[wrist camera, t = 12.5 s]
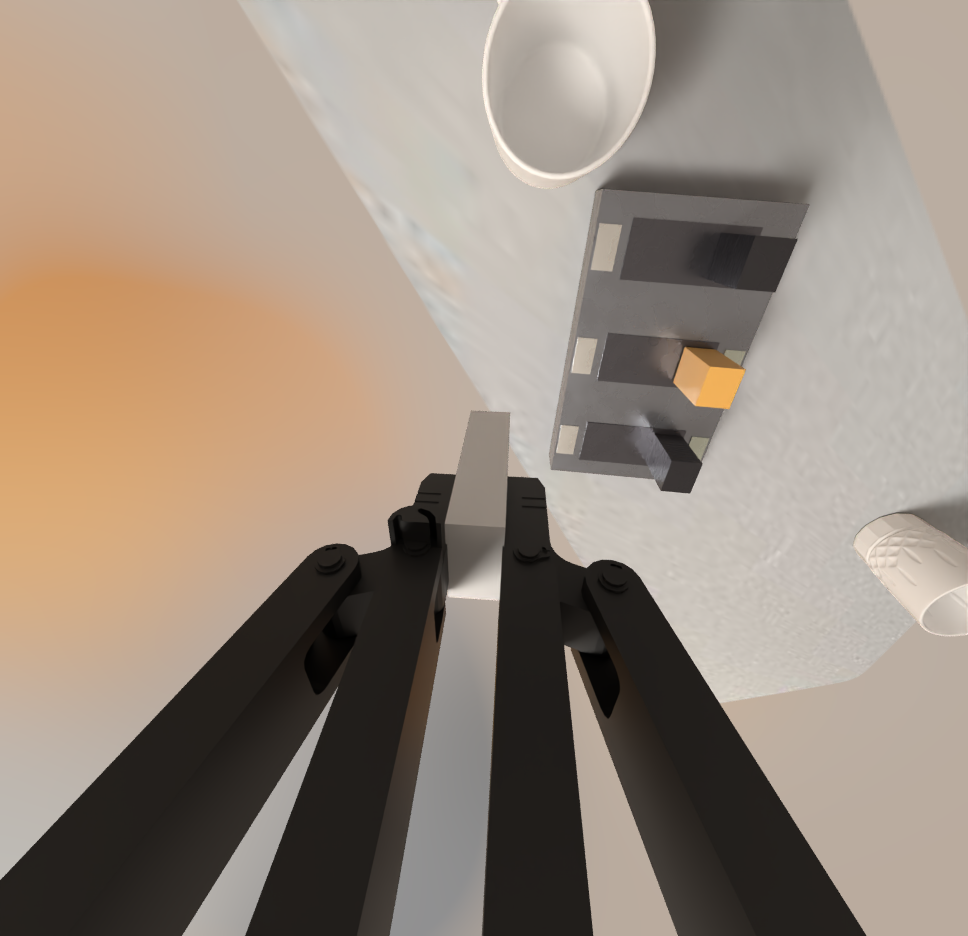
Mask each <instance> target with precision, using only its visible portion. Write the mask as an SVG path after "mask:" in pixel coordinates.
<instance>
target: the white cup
mask: <svg viewBox="0 0 968 936" xmlns="http://www.w3.org/2000/svg"><path fill="white" fill-rule="evenodd" d="M853 546H854V548H855V551H856V553H857V554H858V555H859V556H860V558H861V559H862V560H863V561H864V562H865V563H866V564H867V565H868V566H869V568H870V569H871V571H872V572H873V573H874V574H875V575H876V577H877V578H878V579H879V580H880V581H881V582H882V583H883V585H884V586H885V587H886V588H887V589H888V590H889V592H890V593H891V594H892V595H893V596H894V597H895V598H896V599H897V600H898V601H899V602H900V604H901V605H902V606H903V607H904V608H905V609H906V610H907V611H908V612H909V613H910V615H911V616H912V617H913V618H914V619H915V620H916V621H917V622H918V623H919V625H920V626H921V627H922V628H923V629H924V630H926V631H927V632H929V633H932V634H935V635H940V636H961V635H968V548H966V547H965V546H963V545H962V544H960V543H959V542H957V541H956V540H954V539H952V538H951V537H950V536H948V535H947V534H945V533H944V532H942V531H939V530H937V529H936V528H934V527H933V526H931V525H930V524H928V523H927V522H925V521H924V520H922V519H921V518H919V517H917V516H915V515H913V514H900V513H896V514H892V515H888V516H884V517H880V518H878V519H876V520H875V521H873V522H871V523H869V524H867V525H866V526H865V527H864V528H863V529H862V530H861V531H860V532H859V533H858V534H857V535H856V537H855V540H854V544H853Z"/></svg>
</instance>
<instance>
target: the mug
mask: <svg viewBox="0 0 968 936" xmlns="http://www.w3.org/2000/svg"><path fill="white" fill-rule="evenodd" d="M497 3H498V5H499V6H498V8H497V10H496V12H495V15H494V17H493V19H492V22H491V25H490V29H489V32H488V35H487V40H486V44H485V49H484V57H483V65H482V86H483V97H484V103H485V109H486V112H487V116H488V120H489V123H490V126H491V130H492V133H493V137H494V140H495V143H496V146H497V149H498V151H499V154H500V156H501V158H502V160H503V161H504V163H505V165H506V166H507V167H508V169H509V170H510V171H511V172H512V173H513V174H514V175H515V176H516V177H517V178H518V179H520V180H521V181H523V182H524V183H526V184H528V185H531V186H533V187H537V188H543V189H552V188H558V187H562V186H565V185H568V184H570V183H572V182H574V181H576V180H577V179H579V178H581V177H582V176H584V175H586V174H587V173H589V172H591V171H592V170H594V169H596V168H597V167H599V166H601V165H602V164H603V163H604V162H606V161H607V160H608V159H610V158H611V157H612V156H613V155H614V154H615V153H616V152H617V151H618V150H619V148H620V147H621V146H622V145H623V144H624V142H625V141H626V140H627V138H628V137H629V135H630V134H631V132H632V131H633V129H634V128H635V126H636V124H637V122H638V120H639V118H640V116H641V114H642V112H643V109H644V107H645V104H646V102H647V99H648V95H649V92H650V88H651V85H652V80H653V74H654V68H655V58H656V37H655V27H654V21H653V16H652V11H651V7H650V4H649V2H648V0H497Z"/></svg>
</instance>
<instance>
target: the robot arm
mask: <svg viewBox="0 0 968 936" xmlns="http://www.w3.org/2000/svg"><path fill="white" fill-rule="evenodd" d="M509 427H510V413H509V412H487V411H471V413H470V418H469V422H468V426H467V430H466V435H465V439H464V443H463V447H462V452H461V456H460V460H459V464H458V469H457V473H456V475H453V474H434V473H431V474H429V475H428V476H427V477H426V478H425V479H424V480H423V481H422V482H421V485H420V488H419V490H418V494H417V496H416V499H415V503H414V504H413V506H407V507H404V508H401V509H399V510H397V511H396V512H394V513H393V514H392V515H391V516H390V518H389V519H388V526H389V533H390V540H391V547H389V548H386V549H384V550H381V551H378V552H373V553H368V554H363V555H358V553H357V552H356V550H355V549H354V548H353V547H351V546H348V545H346V544H331V545H326V546H324V547H321V548H319V549H317V550H315V551H314V552H313V553H312V554H310V555H309V556H307V558H306V559H305V560H304V561H303V562H302V563H301V564H300V565H299V566H298V567H297V568H296V569H295V570H294V571H293V572H292V573H291V574H290V575H289V577H288V578H287V579H286V580H285V581H284V582H283V583H282V584H281V585H280V586H279V587H278V588H277V589H276V590H275V591H274V592H273V593H272V595H271V596H270V597H269V598H268V599H267V600H266V601H265V602H264V603H263V604H262V605H261V606H260V607H259V608H258V609H257V610H256V611H255V612H254V614H252V616H251V617H250V618H249V619H248V620H247V621H246V622H245V623H244V624H243V625H242V626H241V627H240V628H239V629H238V630H237V631H236V632H235V633H234V634H233V636H232V637H231V638H230V639H229V640H228V641H227V642H226V643H225V644H224V645H223V646H222V647H221V648H220V649H219V650H218V651H217V652H216V653H215V655H214V656H213V657H212V658H211V659H210V660H209V661H208V662H207V663H206V664H205V665H204V666H203V667H202V668H201V669H200V670H199V671H198V672H197V674H196V675H195V676H194V677H193V678H192V679H191V680H190V681H189V682H188V683H187V684H186V685H185V686H184V687H183V688H182V689H181V691H179V692H178V694H177V695H176V696H175V697H174V698H173V699H172V700H171V701H170V702H169V703H168V704H167V705H166V706H165V707H164V708H163V709H162V710H161V711H160V713H159V714H158V715H157V716H156V717H155V718H154V719H153V720H152V721H151V722H150V723H149V724H148V725H147V726H146V727H145V728H144V729H143V730H142V731H141V732H140V734H139V735H138V736H137V737H136V738H135V739H134V740H133V741H132V742H131V743H130V744H129V745H128V746H127V747H126V748H125V749H124V750H123V751H122V753H121V754H120V755H119V756H118V757H117V758H116V759H115V760H114V761H113V762H112V763H111V764H110V765H109V766H108V767H107V768H106V769H105V770H104V771H103V773H102V774H101V775H100V776H99V777H98V778H97V779H96V780H95V781H94V782H93V783H92V784H91V785H90V786H89V787H88V788H87V789H86V790H85V792H84V793H83V794H82V795H81V796H80V797H79V798H78V799H77V800H76V801H75V802H74V803H73V804H72V805H71V806H70V808H68V809H67V810H66V812H65V813H64V814H63V815H62V816H61V817H60V818H59V819H58V820H57V821H56V822H55V823H54V824H53V825H52V826H51V827H50V829H48V831H47V832H46V833H45V834H44V835H43V836H42V837H41V838H40V839H39V840H38V841H37V842H36V843H35V844H34V845H33V846H32V847H31V848H30V850H29V851H28V852H27V853H26V854H25V855H24V856H23V857H22V858H21V859H20V860H19V861H18V862H17V863H16V864H15V866H13V867H12V868H11V870H10V871H9V872H8V873H7V874H6V875H5V876H4V877H3V878H2V879H1V880H0V936H182V935H183V933H184V932H185V930H186V928H187V927H188V925H189V924H190V922H191V920H192V919H193V917H194V916H195V914H196V912H197V911H198V909H199V908H200V906H201V904H202V902H203V901H204V899H205V898H206V896H207V895H208V893H209V892H210V890H211V889H212V887H213V885H214V884H215V882H216V881H217V879H218V877H219V876H220V874H221V873H222V871H223V869H224V868H225V866H226V865H227V863H228V861H229V860H230V858H231V856H232V855H233V853H234V852H235V850H236V849H237V847H238V845H239V844H240V842H241V841H242V839H243V837H244V836H245V834H246V833H247V831H248V829H249V827H250V826H251V824H252V823H253V821H254V819H255V818H256V816H257V815H258V813H259V812H260V810H261V809H262V807H263V805H264V804H265V802H266V801H267V799H268V797H269V796H270V794H271V793H272V791H273V789H274V788H275V786H276V785H277V783H278V781H279V780H280V778H281V777H282V775H283V773H284V772H285V770H286V769H287V767H288V766H289V764H290V762H291V761H292V759H293V757H294V756H295V754H296V753H297V751H298V750H299V748H300V746H301V745H302V743H303V741H304V740H305V738H306V737H307V735H308V734H309V732H310V730H311V729H312V727H313V725H314V724H315V722H316V721H317V719H318V718H319V716H320V714H321V713H322V711H323V710H324V708H325V706H326V705H327V703H328V702H329V700H330V698H331V697H332V695H333V694H334V692H335V690H336V689H337V687H338V689H337V691H336V694H335V697H334V699H333V702H332V705H331V707H330V711H329V713H328V716H327V718H326V721H325V724H324V726H323V729H322V732H321V735H320V737H319V740H318V742H317V745H316V748H315V751H314V753H313V756H312V758H311V761H310V764H309V767H308V769H307V772H306V774H305V777H304V780H303V782H302V785H301V788H300V790H299V793H298V796H297V799H296V801H295V804H294V807H293V810H292V812H291V815H290V817H289V820H288V823H287V825H286V828H285V831H284V833H283V836H282V839H281V842H280V844H279V847H278V849H277V852H276V855H275V858H274V860H273V863H272V865H271V868H270V871H269V874H268V876H267V879H266V882H265V884H264V887H263V890H262V893H261V895H260V898H259V900H258V903H257V906H256V908H255V911H254V914H253V917H252V919H251V922H250V924H249V927H248V930H247V932H246V935H245V936H389V935H390V929H391V923H392V918H393V912H394V906H395V900H396V895H397V889H398V884H399V877H400V872H401V866H402V861H403V855H404V849H405V843H406V837H407V832H408V827H409V820H410V815H411V810H412V803H413V798H414V792H415V786H416V781H417V775H418V769H419V764H420V758H421V753H422V747H423V741H424V735H425V729H426V724H427V718H428V713H429V706H430V701H431V696H432V690H433V684H434V678H435V673H436V667H437V661H438V655H439V649H440V644H441V638H442V633H443V627H444V621H445V616H446V608H445V600H446V595H447V590H448V597H456V598H470V599H485V600H499V601H500V602H499V619H498V637H497V657H496V676H495V696H494V714H493V733H492V752H491V754H492V755H491V771H490V791H489V811H488V829H487V848H486V867H485V887H484V907H483V925H482V936H593V929H592V919H591V908H590V899H589V890H588V879H587V869H586V859H585V849H584V839H583V829H582V819H581V810H580V800H579V790H578V779H577V770H576V760H575V750H574V740H573V730H572V720H571V710H570V701H569V690H568V681H567V671H566V661H565V652H564V651H565V650H564V645H566V646H568V647H571V651H572V654H573V656H574V659H575V662H576V664H577V667H578V670H579V673H580V675H581V678H582V680H583V683H584V686H585V689H586V691H587V694H588V697H589V699H590V702H591V705H592V707H593V710H594V713H595V715H596V718H597V721H598V723H599V726H600V729H601V731H602V734H603V736H604V739H605V742H606V745H607V747H608V750H609V752H610V755H611V758H612V760H613V763H614V766H615V769H616V771H617V774H618V777H619V779H620V782H621V785H622V787H623V790H624V792H625V795H626V798H627V801H628V803H629V806H630V809H631V811H632V814H633V817H634V819H635V822H636V825H637V827H638V830H639V832H640V835H641V838H642V840H643V843H644V846H645V849H646V851H647V854H648V857H649V859H650V862H651V865H652V867H653V870H654V873H655V875H656V878H657V881H658V883H659V886H660V889H661V891H662V894H663V897H664V899H665V902H666V905H667V907H668V910H669V913H670V915H671V918H672V921H673V923H674V926H675V929H676V931H677V934H678V936H866V934H865V933H864V931H863V929H862V928H861V926H860V925H859V923H858V922H857V920H856V918H855V917H854V915H853V914H852V912H851V911H850V909H849V907H848V906H847V904H846V903H845V901H844V900H843V898H842V896H841V895H840V893H839V892H838V890H837V889H836V887H835V885H834V884H833V882H832V881H831V879H830V877H829V876H828V874H827V873H826V871H825V869H824V868H823V866H822V865H821V863H820V862H819V860H818V858H817V857H816V855H815V854H814V852H813V850H812V849H811V847H810V846H809V844H808V843H807V841H806V840H805V838H804V836H803V835H802V833H801V832H800V830H799V828H798V827H797V826H796V824H795V822H794V821H793V819H792V817H791V816H790V814H789V813H788V811H787V809H786V808H785V806H784V805H783V803H782V802H781V800H780V798H779V797H778V796H777V794H776V792H775V790H774V789H773V787H772V786H771V784H770V783H769V781H768V780H767V778H766V776H765V775H764V773H763V771H762V770H761V768H760V767H759V765H758V764H757V762H756V760H755V759H754V757H753V756H752V754H751V752H750V751H749V749H748V748H747V746H746V745H745V743H744V741H743V740H742V738H741V737H740V735H739V734H738V732H737V730H736V729H735V727H734V726H733V724H732V722H731V721H730V719H729V718H728V716H727V715H726V713H725V711H724V710H723V708H722V707H721V705H720V703H719V702H718V700H717V699H716V697H715V696H714V694H713V692H712V691H711V689H710V688H709V686H708V684H707V683H706V681H705V680H704V678H703V677H702V675H701V673H700V672H699V670H698V669H697V667H696V666H695V664H694V662H693V661H692V659H691V658H690V656H689V654H688V653H687V651H686V650H685V648H684V647H683V645H682V643H681V642H680V640H679V639H678V637H677V635H676V634H675V632H674V631H673V629H672V628H671V626H670V624H669V623H668V621H667V620H666V618H665V617H664V615H663V613H662V612H661V610H660V609H659V607H658V605H657V604H656V602H655V601H654V599H653V598H652V596H651V594H650V593H649V591H648V590H647V588H646V586H645V585H644V583H643V582H642V580H641V579H640V577H639V576H638V575H637V574H636V573H635V572H634V570H633V569H631V568H630V567H628V566H626V565H625V564H623V563H620V562H617V561H613V560H600V561H596V562H593V563H592V564H591V565H590V566H589V567H587V568H584V567H581V566H578V565H575V564H572V563H570V562H568V561H565V560H564V559H563V558H561V557H560V556H558V555H557V554H556V553H555V552H554V550H553V548H552V547H551V544H550V538H549V528H548V516H547V509H546V508H547V506H546V495H545V487H544V486H543V485H542V483H541V482H540V481H539V479H538V478H526V477H525V478H524V477H508V476H507V475H508V451H509V450H508V449H509Z"/></svg>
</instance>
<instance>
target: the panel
mask: <svg viewBox="0 0 968 936" xmlns="http://www.w3.org/2000/svg"><path fill="white" fill-rule="evenodd" d="M808 207H809V204H796V203H783V202H770V201H756V200H743V199H730V198H717V197H703V196H690V195H677V194H664V193H651V192H637V191H624V190H611V189H601V190H598V191H596V192H595V198H594V203H593V209H592V215H591V220H590V226H589V232H588V237H587V243H586V249H585V254H584V260H583V266H582V271H581V277H580V282H579V288H578V294H577V299H576V305H575V311H574V316H573V322H572V328H571V333H570V339H569V345H568V350H567V356H566V361H565V367H564V373H563V378H562V384H561V390H560V395H559V401H558V407H557V412H556V418H555V424H554V429H553V435H552V441H551V446H550V452H549V458H550V465H551V470H560V471H571V472H582V473H593V474H604V475H614V476H625V477H636V478H647V479H655V481H656V483H657V485H658V486H659V488H660V490H661V491H669V492H680V493H690V492H691V490H692V488H693V485H694V483H695V481H696V478H697V476H698V474H699V471H700V469H701V466H702V460H703V457H704V455H705V452H706V450H707V448H708V445H709V443H710V440H711V438H712V436H713V433H714V431H715V429H716V426H717V424H718V421H719V419H720V417H721V414H722V412H723V409H724V408H712V407H701V406H695V405H694V404H693V403H692V402H691V401H690V400H689V399H688V398H687V397H686V396H685V395H684V394H683V392H682V391H681V390H680V389H679V388H678V387H677V386H676V385H675V384H674V383H673V381H674V378H675V375H676V372H677V369H678V366H679V363H680V360H681V357H682V354H683V351H684V348H685V347H691V348H703V349H715V350H717V351H719V352H720V353H722V354H723V355H725V356H726V357H728V358H729V359H731V360H732V361H734V362H735V363H737V364H738V365H740V366H741V367H742V364H743V362H744V359H745V357H746V355H747V352H748V350H749V348H750V345H751V343H752V340H753V338H754V336H755V333H756V331H757V328H758V326H759V324H760V321H761V319H762V317H763V314H764V312H765V309H766V307H767V305H768V302H769V300H770V297H771V295H772V293H773V292H775V291H776V289H777V287H778V284H779V282H780V279H781V277H782V275H783V272H784V270H785V268H786V265H787V263H788V261H789V258H790V256H791V253H792V251H793V249H794V246H795V244H796V242H797V239H795V238H796V236H797V233H798V231H799V228H800V226H801V224H802V221H803V219H804V216H805V214H806V212H807V209H808Z"/></svg>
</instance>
